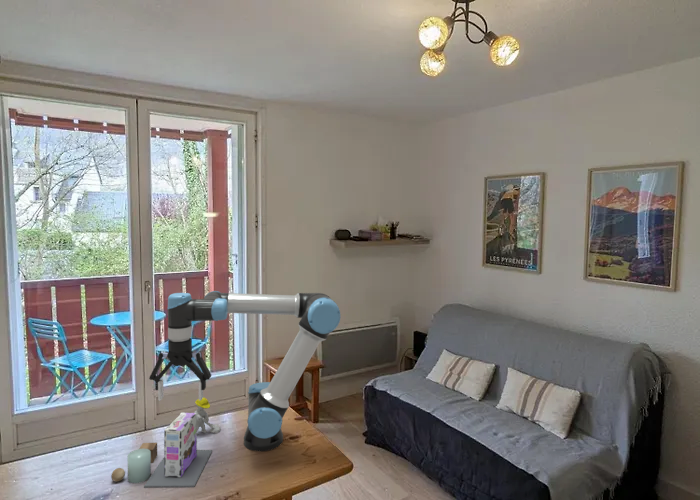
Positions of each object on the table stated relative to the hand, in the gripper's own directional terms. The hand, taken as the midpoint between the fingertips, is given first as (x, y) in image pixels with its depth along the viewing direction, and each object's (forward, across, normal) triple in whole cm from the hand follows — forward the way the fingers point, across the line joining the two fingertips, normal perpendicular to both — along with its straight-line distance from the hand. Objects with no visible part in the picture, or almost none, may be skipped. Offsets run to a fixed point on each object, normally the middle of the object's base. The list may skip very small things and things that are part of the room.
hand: (181, 399), depth 151 cm
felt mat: (+25, 0, 0) cm, 25 cm away
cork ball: (+25, +18, +7) cm, 32 cm away
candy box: (+24, 0, 0) cm, 24 cm away
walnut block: (+22, +12, -6) cm, 26 cm away
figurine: (+25, -2, -25) cm, 35 cm away
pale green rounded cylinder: (+25, +12, +5) cm, 28 cm away
